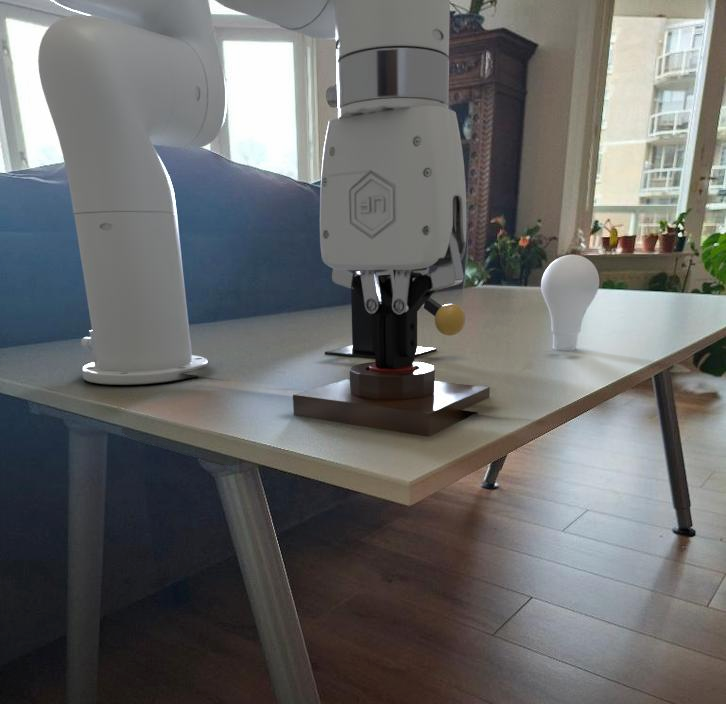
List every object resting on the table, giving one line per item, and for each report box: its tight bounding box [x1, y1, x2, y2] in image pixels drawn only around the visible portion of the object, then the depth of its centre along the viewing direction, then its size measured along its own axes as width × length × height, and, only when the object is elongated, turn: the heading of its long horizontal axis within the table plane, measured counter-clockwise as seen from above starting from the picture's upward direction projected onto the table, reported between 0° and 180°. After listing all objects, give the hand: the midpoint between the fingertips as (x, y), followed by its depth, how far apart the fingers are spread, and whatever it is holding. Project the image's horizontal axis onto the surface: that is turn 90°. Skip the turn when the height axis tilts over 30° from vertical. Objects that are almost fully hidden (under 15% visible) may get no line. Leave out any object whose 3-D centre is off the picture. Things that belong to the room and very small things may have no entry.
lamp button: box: [369, 363, 416, 373], centre depth 52 cm, size 4×4×2 cm
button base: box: [292, 361, 491, 438], centre depth 52 cm, size 12×10×4 cm
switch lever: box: [393, 270, 467, 336], centre depth 71 cm, size 13×3×3 cm, turn 55°
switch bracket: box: [324, 270, 438, 360], centre depth 74 cm, size 10×8×12 cm
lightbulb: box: [540, 254, 600, 352], centre depth 74 cm, size 6×6×11 cm
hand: (395, 365), depth 51 cm, fingers closed
